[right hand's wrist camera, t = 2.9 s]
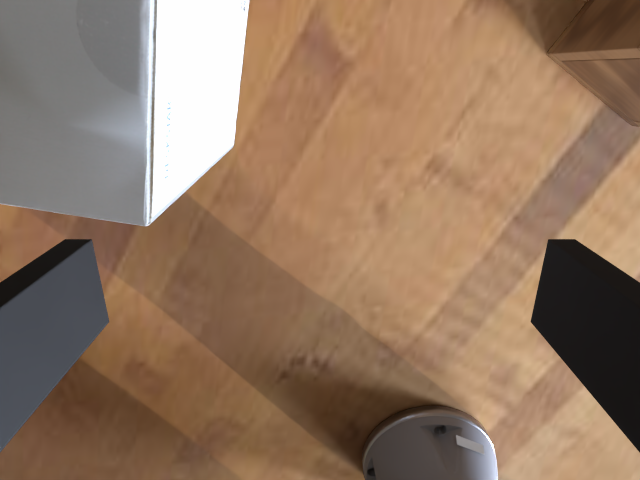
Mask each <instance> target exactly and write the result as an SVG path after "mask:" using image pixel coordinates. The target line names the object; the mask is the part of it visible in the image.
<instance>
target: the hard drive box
mask: <svg viewBox="0 0 640 480" xmlns="http://www.w3.org/2000/svg"><path fill="white" fill-rule="evenodd" d="M248 7H249V0H0V204H5V205H11V206H17V207H25V208H31V209H36V210H43V211H49V212H56V213H62V214H68V215H75V216H82V217H88V218H95V219H101V220H108V221H114V222H121V223H127V224H134V225H141V226H148V225H150V224H151V223H152V222H153V221H154V220H155V219H156V218H157V217H158V216H159V215H161V214H162V213H163V212H164V211H165V210H166V209H167V208H168V207H169V206H170V205H171V204H172V203H174V202H175V201H176V200H177V199H178V198H179V197H180V196H181V195H182V194H183V193H184V192H185V191H186V190H187V189H188V188H190V187H191V186H192V185H193V184H194V183H195V182H196V181H197V180H198V179H199V178H200V177H201V176H203V175H204V174H205V173H206V172H207V171H208V170H209V169H210V168H211V167H212V166H213V165H214V164H215V163H217V162H218V161H219V160H220V159H221V158H222V157H223V156H224V155H225V154H226V153H227V152H228V151H229V150H230V149H231V148H233V145H234V138H235V127H236V117H237V109H238V99H239V88H240V79H241V71H242V62H243V52H244V42H245V33H246V24H247V15H248Z"/></svg>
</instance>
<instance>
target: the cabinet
mask: <svg viewBox="0 0 640 480" xmlns="http://www.w3.org/2000/svg"><path fill="white" fill-rule="evenodd" d="M547 55H548V56H549V57H550V58H551V59H553V60H554V61H555V62H556V63H557V64H559V65H560V66H561V67H562V68H563V69H565V70H566V71H567V72H568V73H569V74H571V75H572V76H573V77H574V78H575V79H577V80H578V81H579V82H580V83H581V84H583V85H584V86H585V87H586V88H587V89H589V90H590V91H591V92H592V93H593V94H595V95H596V96H597V97H598V98H599V99H601V100H602V101H603V102H604V103H605V104H607V105H608V106H609V107H610V108H611V109H613V110H614V111H615V112H616V113H617V114H619V115H620V116H621V117H622V118H623V119H625V120H626V121H627V122H628V123H629V124H631V125H632V126H637V127H640V0H588V2H587V3H586V4H585V5H584V7H583V8H582V9H581V10H580V12H579V13H578V14H577V15H576V17H575V18H574V19H573V21H572V22H571V23H570V24H569V26H568V27H567V28H566V29H565V31H564V32H563V33H562V34H561V36H560V37H559V38H558V40H557V41H556V42H555V43H554V45H553V46H552V47H551V48H550V50H549V51H548V52H547Z"/></svg>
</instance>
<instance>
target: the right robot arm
mask: <svg viewBox="0 0 640 480" xmlns="http://www.w3.org/2000/svg"><path fill="white" fill-rule="evenodd" d="M108 323H109V318H108V314H107V309H106V304H105V299H104V295H103V290H102V285H101V281H100V276H99V271H98V267H97V262H96V257H95V253H94V248H93V243H92V239H65V240H63V241H62V242H60V243H59V244H57V245H56V246H54V247H53V248H51V249H50V250H48V251H47V252H45V253H44V254H42V255H41V256H39V257H38V258H36V259H35V260H33V261H32V262H30V263H29V264H27V265H26V266H24V267H23V268H21V269H20V270H19V271H17V272H16V273H14V274H13V275H11V276H10V277H8V278H7V279H5V280H4V281H2V282H1V283H0V452H1V451H2V450H3V448H4V447H5V446H6V445H7V444H8V442H9V441H10V440H11V439H12V438H13V436H14V435H15V434H16V433H17V432H18V430H19V429H20V428H21V427H22V426H23V424H24V423H25V422H26V421H27V420H28V418H29V417H30V416H31V415H32V414H33V412H34V411H35V410H36V409H37V408H38V406H39V405H40V404H41V403H42V402H43V400H44V399H45V398H46V397H47V396H48V394H49V393H50V392H51V391H52V390H53V388H54V387H55V386H56V385H57V384H58V382H59V381H60V380H61V379H62V378H63V376H64V375H65V374H66V373H67V372H68V371H69V369H70V368H71V367H72V366H73V365H74V363H75V362H76V361H77V360H78V359H79V357H80V356H81V355H82V354H83V353H84V351H85V350H86V349H87V348H88V347H89V345H90V344H91V343H92V342H93V341H94V339H95V338H96V337H97V336H98V335H99V333H100V332H101V331H102V330H103V329H104V327H105V326H106V325H107V324H108ZM531 323H532V324H533V325H534V326H535V327H536V329H537V330H538V331H539V332H540V333H541V335H542V336H543V337H544V338H545V339H546V341H547V342H548V343H549V344H550V345H551V347H552V348H553V349H554V350H555V351H556V353H557V354H558V355H559V356H560V357H561V359H562V360H563V361H564V362H565V363H566V365H567V366H568V367H569V368H570V369H571V371H572V372H573V373H574V374H575V375H576V376H577V378H578V379H579V380H580V381H581V382H582V384H583V385H584V386H585V387H586V388H587V390H588V391H589V392H590V393H591V394H592V396H593V397H594V398H595V399H596V400H597V402H598V403H599V404H600V405H601V406H602V408H603V409H604V410H605V411H606V412H607V414H608V415H609V416H610V417H611V418H612V420H613V421H614V422H615V423H616V424H617V426H618V427H619V428H620V429H621V430H622V432H623V433H624V434H625V435H626V436H627V438H628V439H629V440H630V441H631V442H632V444H633V445H634V446H635V447H636V448H637V450H638V451H639V452H640V283H639V282H638V281H636V280H635V279H633V278H632V277H630V276H629V275H627V274H626V273H624V272H623V271H621V270H620V269H619V268H617V267H616V266H614V265H613V264H611V263H610V262H608V261H607V260H605V259H604V258H602V257H601V256H599V255H598V254H596V253H595V252H593V251H592V250H590V249H589V248H587V247H586V246H584V245H583V244H581V243H580V242H578V241H577V240H575V239H548V243H547V248H546V253H545V257H544V262H543V267H542V271H541V276H540V281H539V285H538V290H537V295H536V299H535V304H534V309H533V314H532V318H531ZM362 463H363V472H364V477H365V480H498V474H497V461H496V456H495V451H494V448H493V445H492V443H491V441H490V438H489V436H488V434H487V432H486V430H485V429H484V427H483V426H482V425H481V424H480V423H479V422H478V421H477V420H476V419H474V418H473V417H472V416H470V415H468V414H466V413H464V412H462V411H460V410H457V409H453V408H449V407H443V406H422V407H415V408H411V409H407V410H404V411H401V412H399V413H397V414H395V415H393V416H391V417H389V418H387V419H386V420H384V421H383V422H382V423H380V424H379V425H378V426H377V427H376V428H375V429H374V430H373V431H372V433H371V434H370V435H369V437H368V439H367V440H366V443H365V445H364V448H363V453H362Z"/></svg>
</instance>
